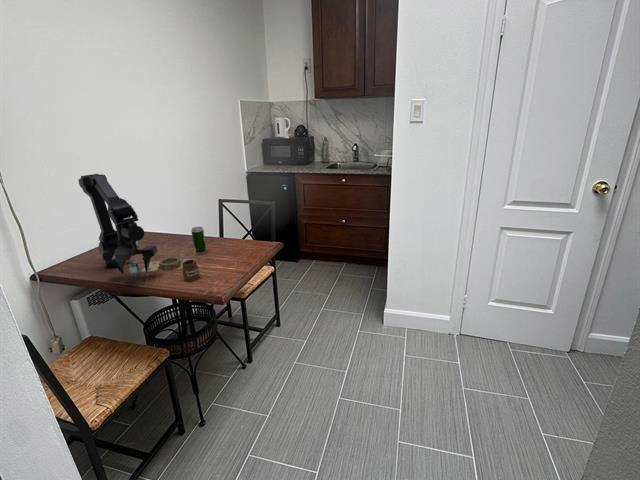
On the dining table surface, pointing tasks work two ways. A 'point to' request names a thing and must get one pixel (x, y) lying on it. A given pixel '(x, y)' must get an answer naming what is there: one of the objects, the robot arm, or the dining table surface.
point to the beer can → (199, 240)
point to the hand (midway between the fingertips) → (135, 272)
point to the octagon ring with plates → (166, 264)
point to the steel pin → (134, 269)
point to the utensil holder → (190, 269)
